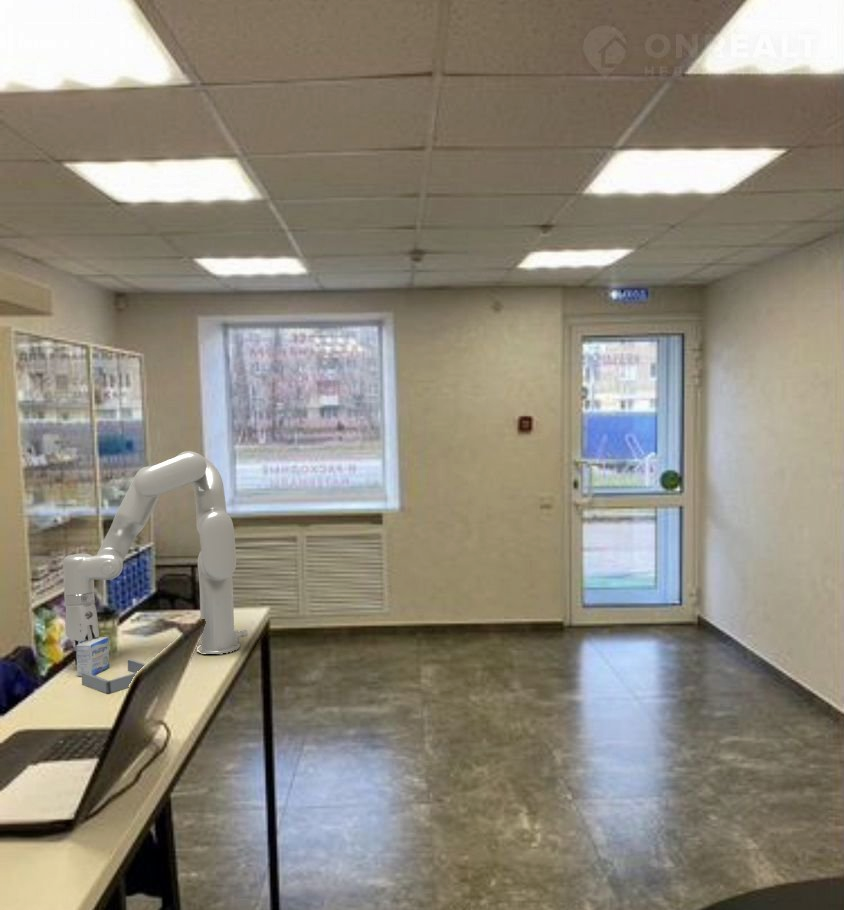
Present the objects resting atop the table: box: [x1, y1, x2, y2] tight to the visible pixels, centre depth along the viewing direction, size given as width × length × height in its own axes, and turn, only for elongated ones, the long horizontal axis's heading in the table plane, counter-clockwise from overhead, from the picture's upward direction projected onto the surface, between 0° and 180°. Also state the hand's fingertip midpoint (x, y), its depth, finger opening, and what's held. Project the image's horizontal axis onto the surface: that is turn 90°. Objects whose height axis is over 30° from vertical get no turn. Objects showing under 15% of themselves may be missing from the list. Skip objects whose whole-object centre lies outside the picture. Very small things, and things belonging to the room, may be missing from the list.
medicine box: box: [76, 636, 110, 677], centre depth 196 cm, size 8×4×9 cm, turn 168°
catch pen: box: [81, 658, 146, 695], centre depth 188 cm, size 14×13×3 cm
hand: (82, 664), depth 200 cm, fingers closed
